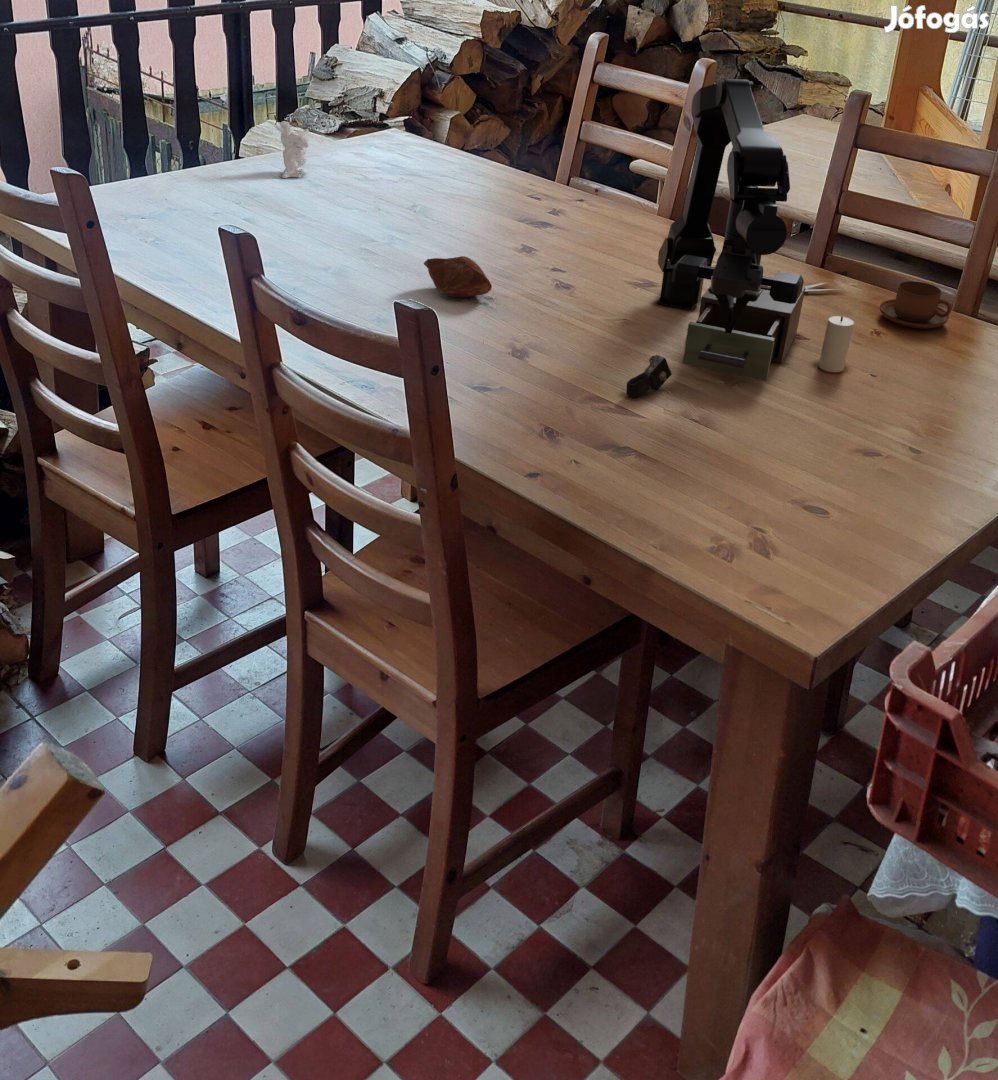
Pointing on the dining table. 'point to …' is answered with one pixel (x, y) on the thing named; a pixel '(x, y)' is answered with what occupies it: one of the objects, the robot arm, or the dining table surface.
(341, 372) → the dining table surface
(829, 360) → the candle
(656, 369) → the padlock
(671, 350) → the dining table surface
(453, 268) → the brown rock
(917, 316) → the cup and saucer
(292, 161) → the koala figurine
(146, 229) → the dining table surface
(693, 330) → the drawer
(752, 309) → the cabinet
